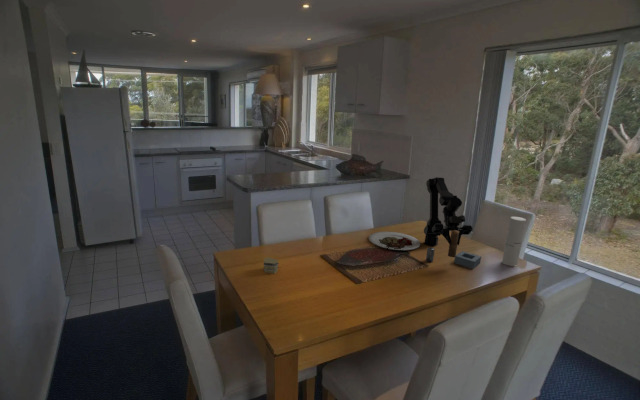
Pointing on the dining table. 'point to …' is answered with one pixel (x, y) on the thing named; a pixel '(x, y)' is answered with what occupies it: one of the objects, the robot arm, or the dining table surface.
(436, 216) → the robot arm
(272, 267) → the grey lidded box
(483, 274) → the dining table surface
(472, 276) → the dining table surface
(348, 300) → the dining table surface
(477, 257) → the hole block
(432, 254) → the short grey pin
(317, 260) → the dining table surface
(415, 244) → the plated food
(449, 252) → the tall walnut pin
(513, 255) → the cylindrical container
